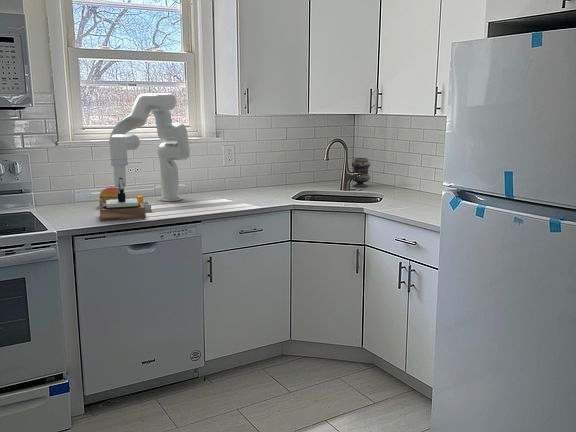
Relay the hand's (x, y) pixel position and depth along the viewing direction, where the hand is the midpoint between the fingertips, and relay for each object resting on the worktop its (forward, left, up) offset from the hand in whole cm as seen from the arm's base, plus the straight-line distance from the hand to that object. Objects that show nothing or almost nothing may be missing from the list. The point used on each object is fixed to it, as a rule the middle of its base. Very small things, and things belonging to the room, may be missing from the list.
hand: (121, 200), depth 267 cm
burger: (-30, -3, -8) cm, 31 cm away
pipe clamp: (-14, +6, -8) cm, 17 cm away
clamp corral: (-14, +6, -8) cm, 17 cm away
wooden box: (0, 0, -8) cm, 8 cm away
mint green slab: (0, 0, -2) cm, 2 cm away
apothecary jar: (-48, +149, -8) cm, 157 cm away
